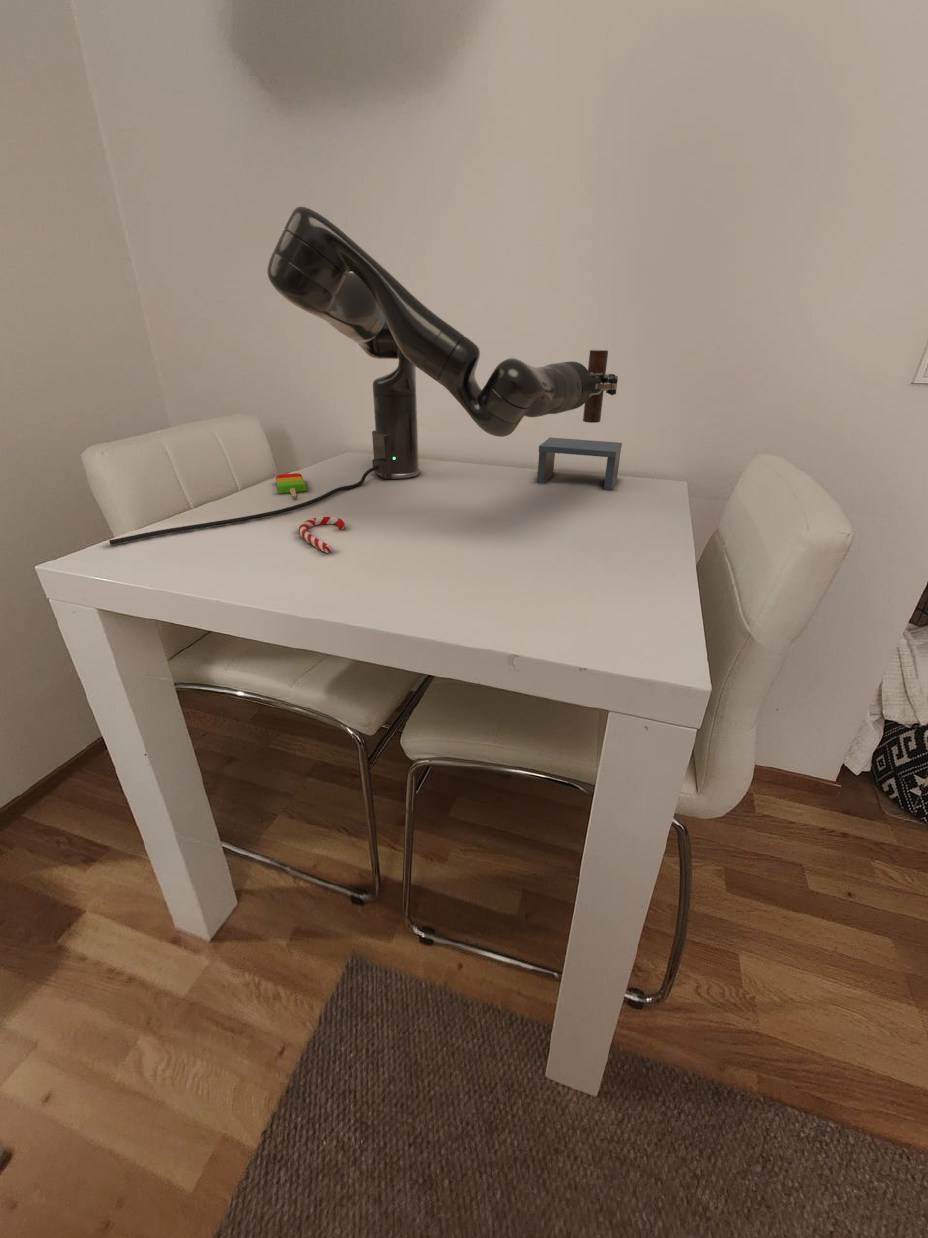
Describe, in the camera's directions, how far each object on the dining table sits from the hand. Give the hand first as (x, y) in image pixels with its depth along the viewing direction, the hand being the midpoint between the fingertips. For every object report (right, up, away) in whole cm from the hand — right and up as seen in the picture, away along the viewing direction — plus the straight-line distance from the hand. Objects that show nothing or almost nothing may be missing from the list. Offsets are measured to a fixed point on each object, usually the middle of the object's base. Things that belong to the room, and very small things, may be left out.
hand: (602, 379), depth 105 cm
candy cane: (-48, -31, -11) cm, 58 cm away
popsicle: (-61, -18, +13) cm, 65 cm away
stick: (-2, -7, +1) cm, 8 cm away
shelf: (0, -14, +21) cm, 25 cm away
